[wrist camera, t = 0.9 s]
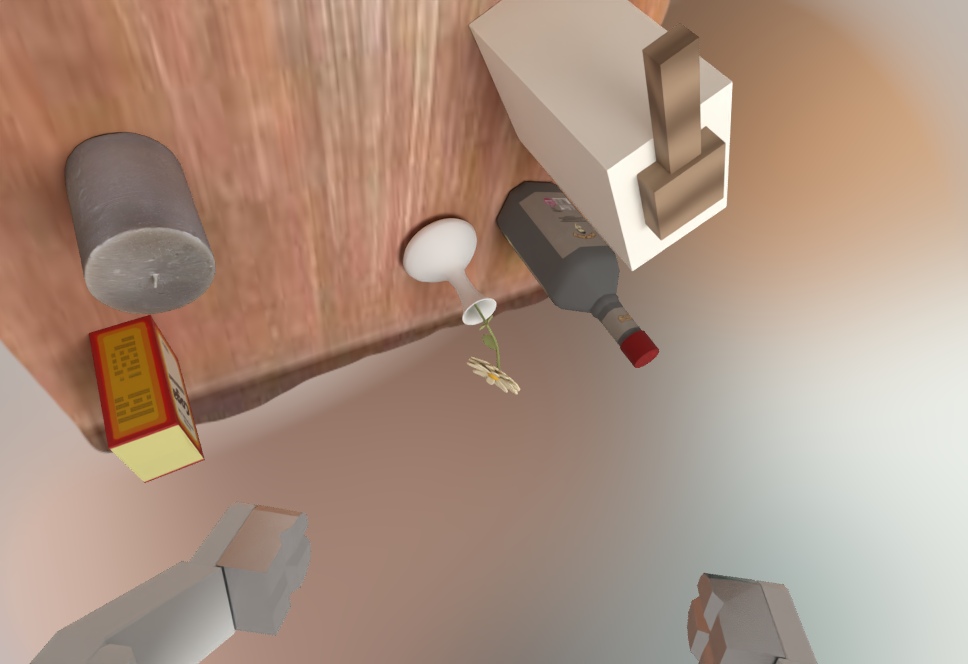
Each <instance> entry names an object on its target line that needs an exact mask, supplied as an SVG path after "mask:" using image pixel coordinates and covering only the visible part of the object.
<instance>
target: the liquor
mask: <svg viewBox="0 0 968 664" xmlns="http://www.w3.org/2000/svg"><path fill="white" fill-rule="evenodd" d="M497 224H498V226H499V228H500V230H501V231H502V233H503V235H504V236H505V238H506V239H507V240H508V242H509V243H510V244H511V246H512V247H513V248H514V250H515V251H516V253H517V254H518V255H519V257H520V258H521V259H522V261H523V262H524V263H525V265H526V266H527V268H528V269H529V270H530V272H531V273H532V274H533V276H534V277H535V278H536V280H537V281H538V283H539V284H540V285H541V287H542V288H543V289H544V291H545V292H546V293H547V295H548V296H549V298H550V299H551V300H552V302H553V303H554V304H555V305H556V306H558V307H559V308H561V309H565V310H573V311H580V312H587V313H592V315H593V316H594V317H595V318H598V319H599V321H600V322H601V323H602V324H603V325H604V327H605V328H606V329H607V330H608V332H609V333H610V334H611V335H612V337H613V338H614V339H615V341H616V342H617V343H618V344H619V345H620V348H621V350H622V352H623V353H624V354H625V355H626V357H627V358H628V359H629V360H630V362H631V363H632V364H633V366H634V367H635V368H640V367H642V366H644V365H646V364H648V363H649V362H651V361H652V360H653V359H654V358H655V357H656V356H657V355H658V353H659V349H658V348H657V347H656V346H655V344H654V343H653V342H652V340H651V339H650V338H649V337H648V335H647V334H646V333H645V331H642V330H641V329H640V328H639V326H638V325H637V324H636V322H635V321H634V320H633V319H632V317H631V316H630V315H629V314H628V312H627V311H626V310H625V308H624V307H623V306H622V305H621V303H620V302H619V300H618V296H617V295H616V292H617V285H618V277H619V267H618V262H617V259H616V256H615V253H614V252H613V251H612V250H611V248H610V247H609V246H608V245H607V244H606V243H605V241H604V240H603V239H602V238H601V237H600V236H599V235H598V233H597V232H596V231H595V230H594V229H593V227H592V226H591V225H590V224H589V223H588V222H587V220H586V219H585V218H584V217H583V216H582V215H581V213H580V212H579V211H578V210H577V209H576V208H575V206H574V205H573V204H572V203H571V202H570V201H569V199H568V198H567V197H566V196H565V195H564V194H563V192H562V191H561V190H560V189H559V188H558V187H557V185H556V184H552V183H542V182H524V183H522V184H521V185H519V186H518V187H516V188H515V189H513V190H512V191H511V192H510V193H509V195H508V197H507V200H506V202H505V204H504V206H503V208H502V210H501V212H500V214H499V216H498V218H497Z"/></svg>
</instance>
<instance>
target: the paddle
mask: <svg viewBox="0 0 968 664" xmlns="http://www.w3.org/2000/svg"><path fill="white" fill-rule="evenodd" d="M642 53H643V61H644V69H645V76H646V84H647V92H648V100H649V108H650V116H651V124H652V132H653V139H654V147H655V155H656V161H655V162H654V163H652V164H651V165H650V166H648V167H647V168H645V169H644V170H642V171H641V172H640V173H638V174H637V180H638V185H639V191H640V197H641V202H642V208H643V213H644V219H645V224H646V225H647V226H648V227H649V228H650V229H651V230H652V231H653V233H654V234H655V235H656V236H657V237H658V238H659V239H660V240H661V241H662V240H663V239H664V238H666V237H667V236H669V235H670V234H672V233H673V232H675V231H676V230H678V229H679V228H680V227H682V226H683V225H685V224H686V223H688V222H689V221H691V220H692V219H694V218H695V217H696V216H698V215H699V214H701V213H702V212H704V211H705V210H707V209H708V208H709V207H711V206H712V205H714V204H715V203H717V202H718V201H720V200H721V199H723V198H724V174H725V148H726V143H725V142H724V141H723V140H722V139H721V138H719V137H718V136H717V135H716V134H715V133H714V132H712V131H711V130H710V129H709V128H708V127H707V126H705V127H704V128H702V129H701V113H700V57H699V37H698V36H697V35H695V34H694V33H693V32H691V31H690V30H689V29H687V28H686V27H685V26H684V25H682V24H681V23H679V24H677V25H676V26H675V27H673V28H672V29H670V30H669V31H668V32H666V33H665V34H663V35H662V36H661V37H659V38H658V39H657V40H655V41H654V42H652V43H651V44H650V45H648V46H647V47H646V48H644V49H643V50H642Z"/></svg>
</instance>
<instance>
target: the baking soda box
mask: <svg viewBox="0 0 968 664" xmlns="http://www.w3.org/2000/svg"><path fill="white" fill-rule="evenodd" d="M89 337H90V343H91V349H92V354H93V360H94V366H95V372H96V378H97V384H98V389H99V395H100V401H101V407H102V413H103V419H104V425H105V430H106V436H107V442H108V448H109V449H110V450H111V451H113V452H114V453H115V454H116V455H117V456H118V457H119V458H120V459H121V460H122V461H123V462H124V463H125V464H126V465H127V466H128V467H129V468H130V469H131V470H132V471H133V472H134V473H135V474H136V475H137V476H138V477H139V478H140V479H141V480H142V481H143V482H145V483H146V482H148V481H151V480H154V479H156V478H159V477H161V476H164V475H167V474H169V473H172V472H174V471H177V470H180V469H182V468H185V467H187V466H190V465H193V464H195V463H198V462H200V461H203V460H205V459H204V456H203V453H202V448H201V444H200V441H199V437H198V433H197V429H196V426H195V422H194V418H193V414H192V410H191V407H190V403H189V399H188V395H187V392H186V388H185V384H184V380H183V377H182V373H181V369H180V365H179V362H178V359H177V357H176V355H175V354H174V352H173V351H172V349H171V347H170V346H169V344H168V343H167V341H166V339H165V338H164V336H163V335H162V333H161V331H160V330H159V328H158V327H157V325H156V323H155V322H154V320H153V319H152V317H151V315H148V316H145V317H142V318H138V319H135V320H132V321H128V322H125V323H122V324H118V325H115V326H112V327H108V328H105V329H101V330H98V331H95V332H91V333H89Z"/></svg>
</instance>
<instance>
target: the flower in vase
mask: <svg viewBox="0 0 968 664" xmlns="http://www.w3.org/2000/svg"><path fill="white" fill-rule="evenodd" d="M476 245H477V238H476V232H475V229H474V228H473V226H472V225H471V224H470V223H468V222H466V221H464V220H461V219H455V218H447V219H441V220H438V221H435V222H433V223H431V224H429V225H427V226H425V227H424V228H422V229H421V230H420V231H419V232H417V233H416V234H415V235H414V237H413V238H412V239H411V240H410V242H409V243H408V245H407V247H406V249H405V253H404V257H403V266H404V269H405V271H406V272H407V273H408V274H409V275H410V276H411V277H413V278H414V279H416V280H418V281H422V282H440V281H446V280H447V281H449V282H450V283H451V284H452V285H453V286H454V288H455V289H456V291H457V293H458V295H459V297H460V299H461V302H462V305H463V316H462V319H463V322H464V323H465V324H467V325H474V324H478V323H480V322H482V321H484V323H485V324H483V325H482V326H481V328H480V329H479V330H481V329H482V328H484V327H485V326H487V328H488V330H489V332H490V334H491V336H490V335H483V336H482V339H483V342H484V344H485V345H486V346H488V347H489V348H490V349H493V350H494V349H496V352H497V367H494V366H493V365H491V364H490V363H488V362H486V361H484V360H481V359H479V358H475V357H472V356H471V358H469V362H467V364H468V365H470V366H472V367H474V368H476V369H478V370H473V372H474V373H475V374H478V375H481V376H482V377H484V378H486V381H487V383H489V384H491V385H492V384H494V383H495V384H496V385H497V386H498V387H500V388H501V389H502V390H503V391H504V392H508V391H507V388H508V389H509V390H511V391H512V392H513V393H514V394H517V391H519V390H520V388H519V386H518V385H517V383H516V382H515V381H513V380H512V379H511V378H510V377H509V376H507V375H506V374H505V373H504V372H503V371H501V370H500V357H499V349H498V344H497V341H496V339H495V337H494V335H493V332H492V331H491V329H490V327H489V325H488V323H489V321H490V320H491V319H492V317H493V315H492V313H493V312H494V310H495V308H496V302H495V300H493V299H491V298H487V297H485V296H483V295H482V294H480V293H479V292H478V291H477V290H476V289H475V288H474V286H473V285H472V284H471V282H470V281H469V280H468V278H467V276H466V274H465V268H466V266H467V265H468V263H469V262H470V260H471V259H472V257H473V254H474V252H475V249H476ZM491 315H492V316H491ZM490 316H491V317H490ZM488 317H490V318H489V319H488V320H487V321H486V319H487V318H488Z"/></svg>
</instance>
